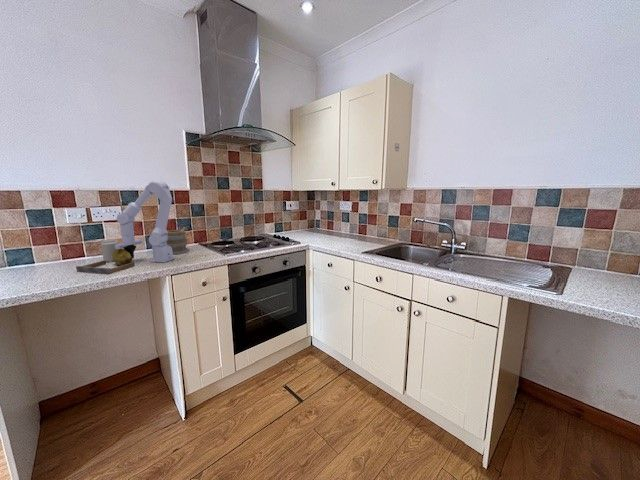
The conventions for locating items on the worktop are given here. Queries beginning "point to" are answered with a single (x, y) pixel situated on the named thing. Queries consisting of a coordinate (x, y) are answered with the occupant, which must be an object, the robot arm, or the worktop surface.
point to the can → (108, 249)
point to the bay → (95, 269)
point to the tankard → (177, 241)
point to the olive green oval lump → (122, 257)
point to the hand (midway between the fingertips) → (131, 258)
